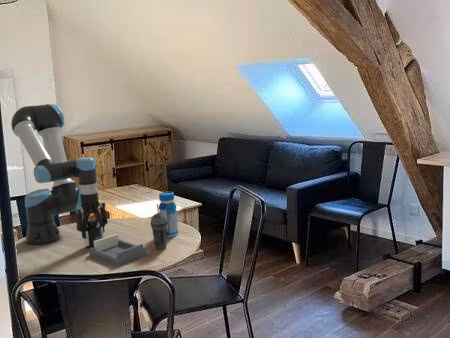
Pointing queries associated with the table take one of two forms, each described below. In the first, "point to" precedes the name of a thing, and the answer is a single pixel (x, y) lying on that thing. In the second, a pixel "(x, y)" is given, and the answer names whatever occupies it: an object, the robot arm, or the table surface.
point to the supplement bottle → (93, 232)
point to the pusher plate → (106, 242)
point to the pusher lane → (119, 253)
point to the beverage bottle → (169, 212)
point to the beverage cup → (159, 230)
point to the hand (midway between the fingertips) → (94, 242)
